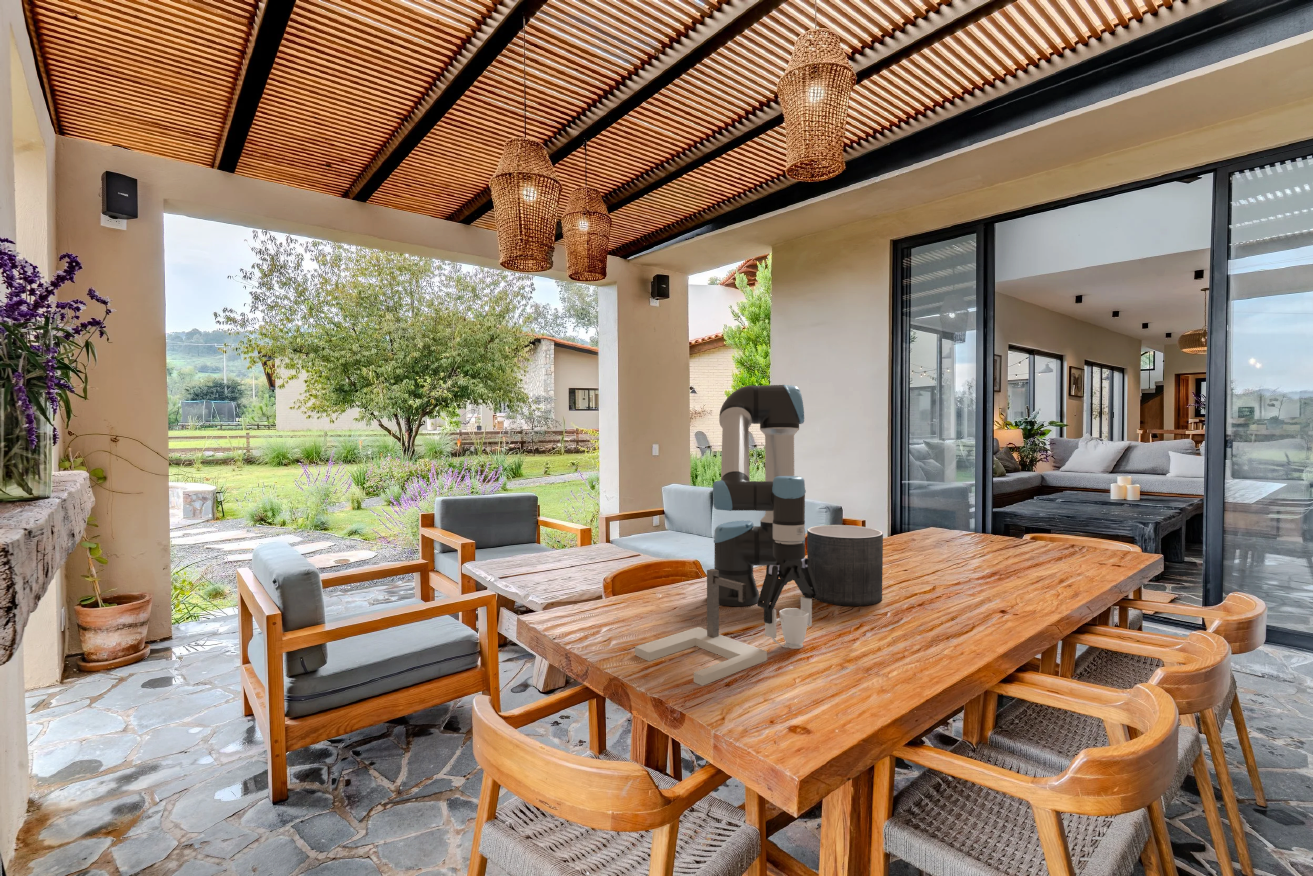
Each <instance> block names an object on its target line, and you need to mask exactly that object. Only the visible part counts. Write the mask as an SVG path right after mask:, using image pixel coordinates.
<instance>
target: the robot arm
mask: <svg viewBox="0 0 1313 876" xmlns="http://www.w3.org/2000/svg"><path fill="white" fill-rule="evenodd" d="M803 401H804V400H803V396H802V393H801V389H800V388H799V387H798V386H797V385H792V384H791V385H789V384H768V385H767V384H766V385H765V384H764V385H745V386H742V387H739V388H738V389H736V390H734V391H733V392H732V393H731V394H730V395H728V396H727V398H726V399H725V401H723V403H722V406H721V408H720V410H719V418H718V419H719V420H718V421H719V425H720V427H721V429H722V432H721V435H722V436H721V438H722V439H721V462H720V463H721V464H720V465H721V468H720V470H721V471H720V474H721V475H720V480H715V481H714V482H713V485H712V504H713V505H712V506H713V508H714V509H716V510H719V511H729V512H732V511H734V512H735V511H746V512H748V511H749V512H750V511H751V512H752V511H756V512H757V511H759V512H765V514H764V516H763V517H762V518H761V519H760V520H759V522H760V525H757V526H755V525H754V522H753V521H751V520H735V521H728V522H724V523H720V524H718V525H717V526H716V527H715V530H714V539H713V543H714V565H713V566H714V567H713V569H716V570H719V577H721V578H724V579H728V580H732V581H736V582H740V583H744V584H746V602H739V590H735V589H731V588H728V587H724V586H720V585H719V606H720V605H721V606H726V607H745V606H752V605H755V604H756V606H757V607H758V608H762V609H763V621H764V636H766V637H768V638H771V639H772V638H774V639H776V638H777V623H776V619H777V609H776V608H775V606H776V604H777V602H778V601H779V598H780V596H781V594H782V591H783V589H784V587H785V586H786V585H787V584H788V583H790V582H792V581H794V582H795V585H796V586H797V587H798V589H799V590H800V593H801V594H802V596H800V609H802V610H806V611H807V612H808V613H809V617H808V623H807V627H812V625H813V623H812V622H813V616H812V615H813V600H816V599H815V598H816V597H817V595H816V594H818V588H817V585H816V582H815V579H814V576H813V573H812V570H811V565H810V559H808V558H807V557H806V529H805V528H806V527H805V525H806V524H805V523H806V520H805V518H806V515H805V511H806V508H805V507H806V492H807V491H806V484H805V478H804V477H802V476H798V475H795V434H797V433H798V432H799V430H800V425H802V424H804V422H805V409H804V408H805V407H804V402H803ZM752 425H759V430H760V432H761V433H763V435H764V442H765V443H764V446H765V447H764V451H765V452H764V456H765V458H764V464H765V465H764V466H765V467H764V468H765V471H764V472H765V476H764V477H765V480H764V481H762V480H760V481H756V480H755V481H754V480H751V478H750V440H749V439H750V438H749V436H750V433H749V432H750V431H749V428H750V427H751V426H752ZM754 566H761V567H762V566H763V567H766V569H765V571H766V572H765V576H764V579H763V584H762V586H761V589H760V592H759V590H758V587H757V583H756V579H755V577H754ZM811 587H812V588H811ZM813 598H814V599H813Z"/></svg>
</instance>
